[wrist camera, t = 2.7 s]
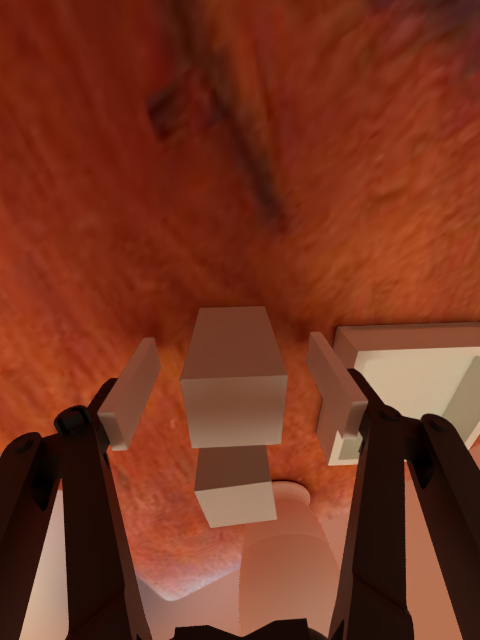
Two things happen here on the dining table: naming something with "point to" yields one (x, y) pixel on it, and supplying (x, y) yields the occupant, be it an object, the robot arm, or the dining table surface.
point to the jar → (287, 566)
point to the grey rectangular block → (235, 485)
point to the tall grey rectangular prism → (234, 379)
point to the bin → (410, 377)
